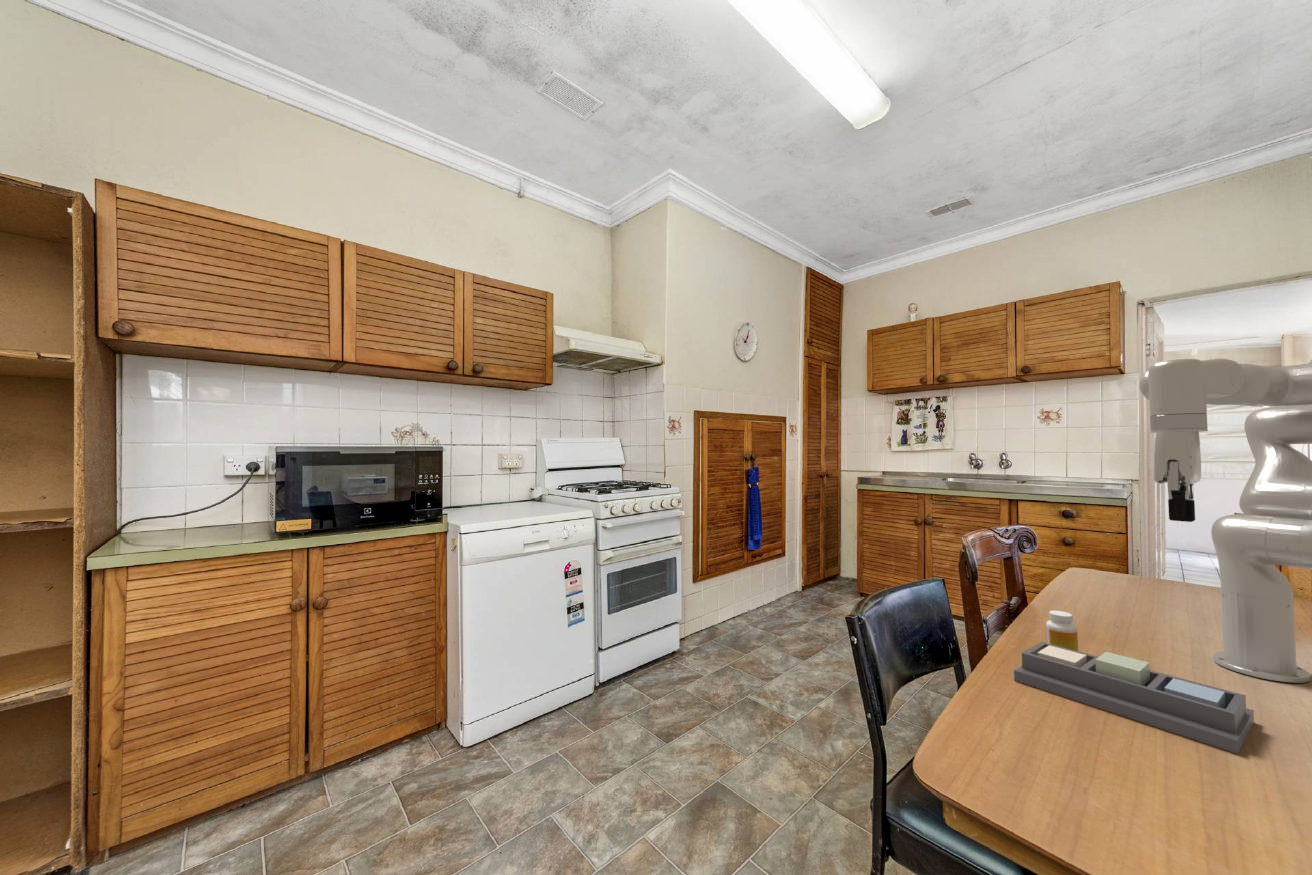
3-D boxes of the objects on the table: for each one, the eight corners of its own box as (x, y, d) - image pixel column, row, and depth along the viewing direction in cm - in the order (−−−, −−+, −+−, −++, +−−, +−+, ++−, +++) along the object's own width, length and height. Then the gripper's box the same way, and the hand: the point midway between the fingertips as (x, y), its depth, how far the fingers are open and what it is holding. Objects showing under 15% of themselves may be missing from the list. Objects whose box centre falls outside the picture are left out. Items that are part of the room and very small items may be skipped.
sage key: (1106, 667, 94) (1106, 651, 94) (1150, 679, 89) (1149, 662, 89) (1096, 675, 91) (1095, 659, 91) (1140, 688, 86) (1139, 671, 86)
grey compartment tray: (1044, 661, 106) (1043, 638, 106) (1254, 722, 82) (1252, 692, 82) (1014, 680, 98) (1013, 655, 98) (1237, 754, 74) (1236, 720, 74)
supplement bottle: (1084, 663, 105) (1082, 617, 105) (1055, 662, 106) (1054, 616, 106) (1068, 653, 110) (1067, 609, 110) (1041, 651, 111) (1040, 608, 111)
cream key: (1049, 659, 102) (1049, 645, 102) (1086, 670, 97) (1086, 655, 97) (1038, 667, 98) (1037, 652, 99) (1075, 678, 93) (1075, 662, 94)
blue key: (1174, 695, 87) (1173, 678, 87) (1225, 709, 82) (1224, 691, 82) (1165, 705, 83) (1164, 687, 84) (1218, 721, 78) (1217, 702, 79)
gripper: (1160, 426, 101) (1164, 515, 101) (1139, 425, 93) (1143, 522, 93) (1215, 424, 95) (1219, 519, 95) (1197, 422, 87) (1202, 527, 86)
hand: (1182, 520), depth 94 cm, fingers closed
